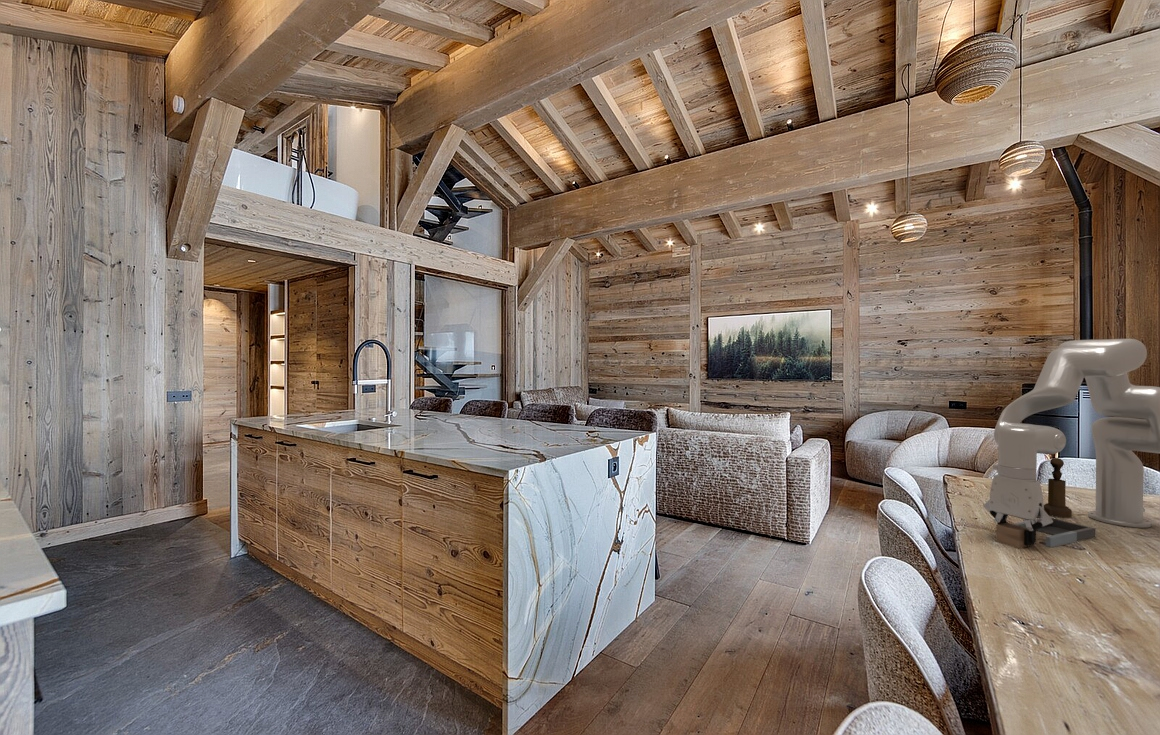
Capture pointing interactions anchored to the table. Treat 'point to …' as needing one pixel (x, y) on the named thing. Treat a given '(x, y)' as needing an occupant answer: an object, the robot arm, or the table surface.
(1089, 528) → the grey u-shaped bracket
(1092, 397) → the robot arm
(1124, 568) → the table surface
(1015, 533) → the walnut block
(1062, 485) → the pepper mill
